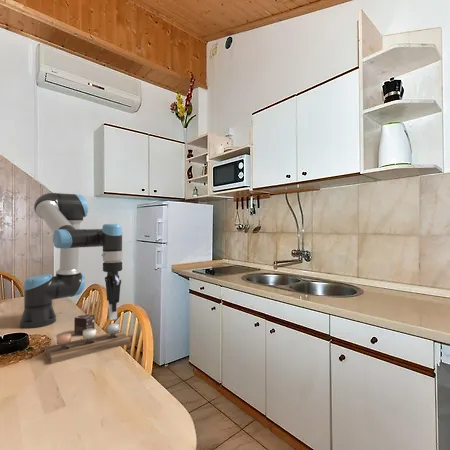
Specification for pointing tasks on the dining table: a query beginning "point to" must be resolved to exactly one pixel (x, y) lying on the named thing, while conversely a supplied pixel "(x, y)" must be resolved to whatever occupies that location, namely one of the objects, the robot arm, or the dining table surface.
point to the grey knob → (112, 329)
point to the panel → (86, 346)
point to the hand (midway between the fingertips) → (113, 319)
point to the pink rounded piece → (63, 339)
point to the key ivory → (89, 334)
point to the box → (83, 323)
